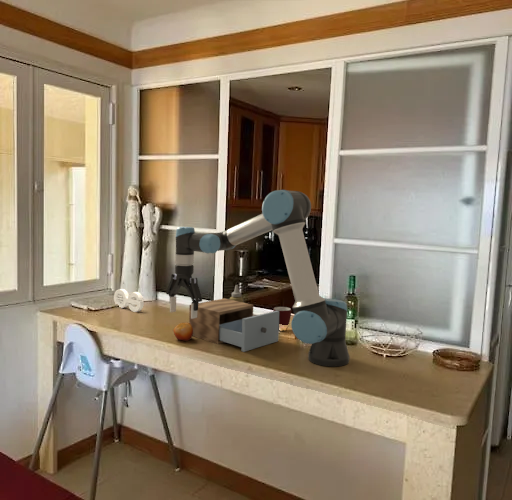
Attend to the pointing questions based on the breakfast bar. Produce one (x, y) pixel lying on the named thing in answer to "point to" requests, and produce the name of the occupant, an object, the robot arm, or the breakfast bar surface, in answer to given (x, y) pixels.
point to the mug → (283, 315)
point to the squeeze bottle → (236, 295)
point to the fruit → (183, 331)
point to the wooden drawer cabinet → (217, 317)
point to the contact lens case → (129, 300)
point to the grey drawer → (251, 331)
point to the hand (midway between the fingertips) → (183, 314)
